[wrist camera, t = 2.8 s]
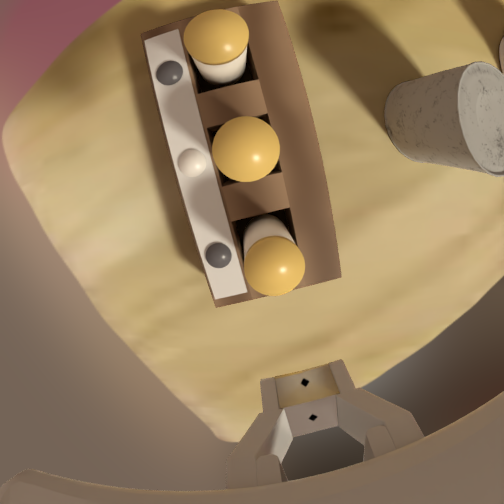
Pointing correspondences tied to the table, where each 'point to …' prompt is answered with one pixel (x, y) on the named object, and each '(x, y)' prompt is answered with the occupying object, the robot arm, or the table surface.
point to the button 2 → (271, 256)
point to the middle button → (246, 149)
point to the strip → (194, 163)
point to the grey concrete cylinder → (451, 118)
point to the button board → (290, 139)
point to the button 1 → (218, 45)
